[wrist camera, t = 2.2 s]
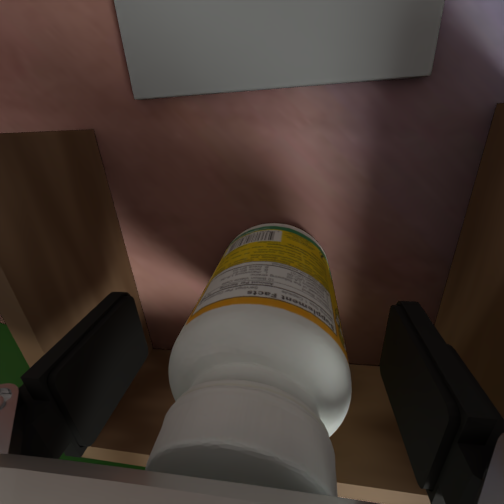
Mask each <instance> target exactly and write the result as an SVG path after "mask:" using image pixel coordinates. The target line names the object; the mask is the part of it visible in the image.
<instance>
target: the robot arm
mask: <svg viewBox="0 0 504 504" xmlns="http://www.w3.org/2000/svg"><path fill="white" fill-rule="evenodd" d="M147 356H148V346H147V342H146V339H145V335H144V332H143V328H142V325H141V321H140V318H139V314H138V311H137V307H136V304H135V300H134V298H133V297H132V296H130V294H129V293H127V292H111V293H110V294H108V295H107V296H106V297H105V298H104V299H103V300H102V301H101V302H100V303H99V304H98V305H97V306H96V307H95V308H94V309H92V310H91V311H90V312H89V313H88V314H87V315H86V316H85V317H84V318H83V319H82V320H81V321H80V322H79V323H78V324H76V325H75V326H74V327H73V328H72V329H71V330H70V331H69V332H68V333H67V334H66V335H65V336H64V337H63V338H62V339H60V340H59V341H58V342H57V343H56V344H55V345H54V346H53V347H52V348H51V349H50V350H49V351H48V352H47V353H46V354H44V355H43V356H42V357H41V358H40V359H39V360H38V361H37V362H36V363H35V364H34V365H33V366H32V367H31V368H29V369H28V370H27V371H26V372H25V373H24V374H23V375H22V376H21V377H20V378H21V380H22V381H23V383H24V384H23V385H22V386H21V387H20V388H18V387H17V386H16V385H15V384H11V383H6V384H0V504H379V503H373V502H367V501H360V500H354V499H348V498H341V497H334V496H327V495H319V494H312V493H305V492H298V491H291V490H284V489H277V488H270V487H263V486H256V485H249V484H242V483H234V482H227V481H220V480H212V479H205V478H198V477H190V476H183V475H176V474H168V473H161V472H153V471H146V470H139V469H131V468H123V467H115V466H108V465H100V464H92V463H85V462H77V461H69V460H62V459H59V458H60V457H61V455H62V454H63V452H64V454H65V456H72V457H79V458H81V457H82V455H83V454H84V452H85V450H86V449H87V447H89V446H91V445H92V444H93V443H94V442H95V440H96V439H97V437H98V435H99V434H100V432H101V431H102V429H103V427H104V426H105V424H106V423H107V421H108V419H109V418H110V416H111V415H112V413H113V411H114V410H115V408H116V407H117V405H118V403H119V402H120V400H121V399H122V397H123V395H124V394H125V392H126V390H127V389H128V387H129V386H130V384H131V382H132V381H133V379H134V378H135V376H136V374H137V373H138V371H139V370H140V368H141V366H142V365H143V363H144V362H145V360H146V358H147ZM380 374H381V377H382V380H383V383H384V386H385V389H386V392H387V395H388V398H389V401H390V404H391V407H392V410H393V413H394V416H395V419H396V422H397V425H398V428H399V431H400V434H401V436H402V439H403V442H404V445H405V448H406V451H407V454H408V457H409V460H410V463H411V466H412V469H413V472H414V475H415V478H416V481H417V483H418V485H419V487H420V488H421V489H426V492H427V494H428V497H429V500H430V503H431V504H504V419H503V417H502V416H501V415H500V413H499V412H498V410H497V409H496V407H495V406H494V404H493V403H492V402H491V400H490V399H489V397H488V396H487V394H486V393H485V392H484V390H483V389H482V387H481V386H480V384H479V383H478V382H477V380H476V379H475V377H474V376H473V374H472V373H471V372H470V370H469V369H468V367H467V366H466V364H465V363H464V362H463V360H462V359H461V357H460V356H459V354H458V353H457V352H456V350H455V349H454V348H453V347H452V346H451V345H449V344H446V342H445V341H444V339H443V338H442V336H441V335H440V333H439V332H438V330H437V329H436V327H435V326H434V324H433V323H432V322H431V320H430V319H429V317H428V316H427V314H426V313H425V311H424V310H423V308H422V307H421V305H420V304H419V303H418V302H409V301H398V302H397V304H396V305H392V306H391V308H390V313H389V318H388V323H387V328H386V333H385V339H384V344H383V349H382V354H381V360H380Z"/></svg>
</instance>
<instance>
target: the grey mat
mask: <svg viewBox="0 0 504 504" xmlns="http://www.w3.org/2000/svg"><path fill="white" fill-rule="evenodd" d="M444 2H445V0H114V3H115V8H116V13H117V18H118V23H119V28H120V32H121V37H122V42H123V47H124V52H125V57H126V61H127V66H128V71H129V76H130V81H131V86H132V90H133V95H134V99H138V100H142V99H154V98H167V97H179V96H191V95H204V94H216V93H229V92H241V91H253V90H266V89H278V88H291V87H303V86H315V85H328V84H340V83H352V82H365V81H377V80H390V79H402V78H414V77H426V76H429V75H431V72H432V66H433V61H434V56H435V50H436V45H437V39H438V34H439V29H440V23H441V18H442V13H443V7H444Z"/></svg>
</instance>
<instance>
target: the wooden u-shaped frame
mask: <svg viewBox="0 0 504 504" xmlns="http://www.w3.org/2000/svg"><path fill="white" fill-rule="evenodd" d="M111 292H127V293H129V294H130V296H132V297H133V298H134V300H135V304H136V307H137V311H138V314H139V318H140V321H141V325H142V328H143V332H144V335H145V339H146V342H147V346H148V356H147V358H146V360H145V362H144V363H143V365H142V366H141V368H140V370H139V371H138V373H137V374H136V376H135V378H134V379H133V381H132V382H131V384H130V386H129V387H128V389H127V390H126V392H125V394H124V395H123V397H122V399H121V400H120V402H119V403H118V405H117V407H116V408H115V410H114V411H113V413H112V415H111V416H110V418H109V419H108V421H107V423H106V424H105V426H104V427H103V429H102V431H101V432H100V434H99V435H98V437H97V439H96V440H95V442H94V443H93V444H92V445H91V446H89V447H87V449H86V450H85V452H84V454H83V455H82V457H84V458H90V459H97V460H103V461H110V462H116V463H123V464H129V465H136V466H143V467H146V464H147V461H148V459H149V456H150V454H151V451H152V449H153V447H154V444H155V442H156V439H157V437H158V435H159V432H160V430H161V428H162V425H163V421H164V418H165V415H166V414H167V412H168V410H169V409H170V407H171V406H172V405H173V404H174V403H175V399H174V397H173V394H172V391H171V387H170V383H169V375H168V367H169V360H170V355H171V351H172V350H162V349H153V346H152V343H151V339H150V335H149V332H148V328H147V324H146V321H145V317H144V313H143V310H142V306H141V302H140V299H139V295H138V291H137V288H136V284H135V280H134V277H133V273H132V270H131V266H130V262H129V259H128V255H127V251H126V248H125V244H124V240H123V237H122V233H121V229H120V226H119V222H118V218H117V215H116V211H115V207H114V204H113V200H112V196H111V193H110V189H109V185H108V182H107V178H106V174H105V171H104V167H103V164H102V160H101V156H100V153H99V149H98V145H97V142H96V138H95V134H94V131H93V129H88V130H66V131H44V132H21V133H0V314H1V316H2V317H3V319H4V321H5V323H6V325H7V327H8V328H9V330H10V332H11V334H12V336H13V338H14V339H15V341H16V343H17V345H18V347H19V349H20V351H21V352H22V354H23V356H24V358H25V360H26V362H27V363H28V365H29V367H30V368H31V367H32V366H33V365H34V364H35V363H36V362H37V361H38V360H39V359H40V358H41V357H42V356H43V355H44V354H46V353H47V352H48V351H49V350H50V349H51V348H52V347H53V346H54V345H55V344H56V343H57V342H58V341H59V340H60V339H62V338H63V337H64V336H65V335H66V334H67V333H68V332H69V331H70V330H71V329H72V328H73V327H74V326H75V325H76V324H78V323H79V322H80V321H81V320H82V319H83V318H84V317H85V316H86V315H87V314H88V313H89V312H90V311H91V310H92V309H94V308H95V307H96V306H97V305H98V304H99V303H100V302H101V301H102V300H103V299H104V298H105V297H106V296H107V295H108V294H110V293H111ZM434 326H435V327H436V329H437V330H438V332H439V333H440V335H441V336H442V338H443V339H444V341H445V342H446V344H449V345H451V346H452V347H453V348H454V349H455V350H456V352H457V353H458V354H459V356H460V357H461V359H462V360H463V362H464V363H465V364H466V366H467V367H468V369H469V370H470V372H471V373H472V374H473V376H474V377H475V379H476V380H477V382H478V383H479V384H480V386H481V387H482V389H483V390H484V392H485V393H486V394H487V396H488V397H489V399H490V400H491V402H492V403H493V404H494V406H495V407H496V409H497V410H498V412H499V413H500V415H501V416H502V417H503V419H504V103H497V106H496V109H495V113H494V116H493V120H492V123H491V127H490V131H489V134H488V138H487V141H486V145H485V148H484V152H483V155H482V159H481V162H480V166H479V169H478V173H477V177H476V180H475V184H474V187H473V191H472V194H471V198H470V201H469V205H468V208H467V212H466V216H465V219H464V223H463V226H462V230H461V233H460V237H459V240H458V244H457V247H456V251H455V254H454V258H453V262H452V265H451V269H450V272H449V276H448V279H447V283H446V286H445V290H444V293H443V297H442V300H441V304H440V308H439V311H438V315H437V318H436V322H435V325H434ZM349 367H350V373H351V382H352V393H351V401H350V405H349V409H348V411H347V414H346V416H345V418H344V420H343V422H342V423H341V425H340V426H339V428H338V429H337V430H336V431H335V432H334V433H333V434H332V435H331V436H330V437H329V438H330V440H331V443H332V446H333V449H334V453H335V468H336V480H337V493H338V497H345V498H351V499H358V500H364V501H371V502H377V503H384V504H431V503H430V500H429V497H428V494H427V492H426V489H421V488H420V487H419V485H418V483H417V481H416V478H415V475H414V472H413V469H412V466H411V463H410V460H409V457H408V454H407V451H406V448H405V445H404V442H403V439H402V436H401V434H400V431H399V428H398V425H397V422H396V419H395V416H394V413H393V410H392V407H391V404H390V401H389V398H388V395H387V392H386V389H385V386H384V383H383V380H382V377H381V374H380V366H368V365H355V364H349Z"/></svg>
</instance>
